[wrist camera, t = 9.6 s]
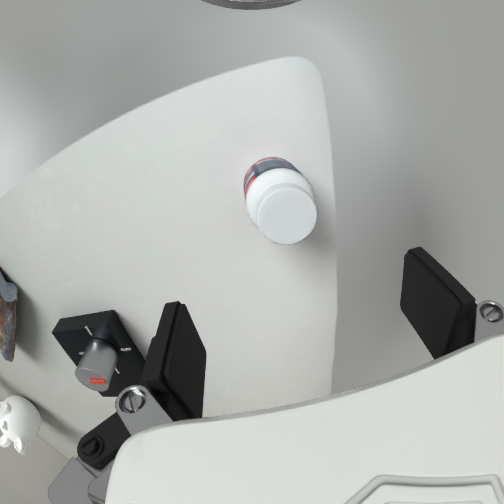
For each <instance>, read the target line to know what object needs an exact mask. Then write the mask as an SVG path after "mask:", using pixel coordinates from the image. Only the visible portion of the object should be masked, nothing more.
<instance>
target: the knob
mask: <svg viewBox="0 0 504 504" xmlns="http://www.w3.org/2000/svg"><path fill="white" fill-rule="evenodd" d="M118 359H119V354H118V352H117V350H116V349H115V348H114V347H113V346H112V345H111V344H110V343H108V342H106V341H104V340H100V339H93V340H91V341H89V343H88V345H87V347H86V349H85V351H84V353H83V355H82V358H81V360H80V362H79V364H78V366H77V368H76V371H75V375H76V377H77V379H78V380H79V381H80V382H81V383H82V384H83V385H84V386H86V387H88V388H90V389H92V390H95V391H100V392H102V391H106V390H107V389H108V387H109V384H110V381H111V378H112V376H113V373H114V370H115V367H116V364H117V361H118Z"/></svg>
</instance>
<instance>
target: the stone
mask: <svg viewBox="0 0 504 504" xmlns="http://www.w3.org/2000/svg"><path fill="white" fill-rule="evenodd" d="M17 292H18V291H17V287H16V286H15V284H14V283H10V282H6V281H5V279H4V277H3V275H2V274H1V271H0V351H1V353H2V355H3V357H4V358H5V359H6V360H8V361H10V362H12V361H13V358H14V351H15V339H14V338H15V332H16V322H17V315H16V309H15V305H16V303H17Z"/></svg>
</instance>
